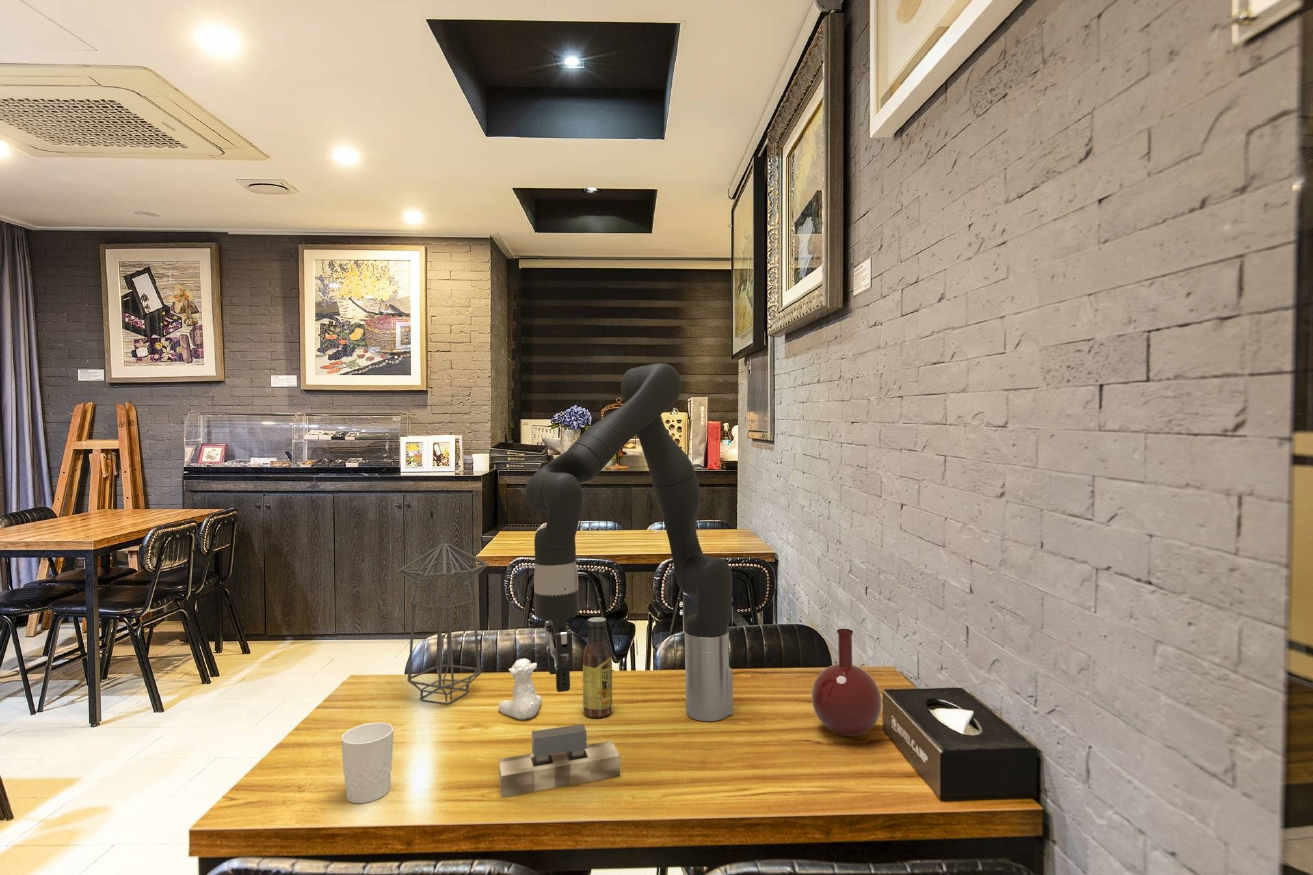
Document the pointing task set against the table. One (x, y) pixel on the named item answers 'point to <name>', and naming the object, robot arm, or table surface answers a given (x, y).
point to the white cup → (367, 761)
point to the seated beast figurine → (522, 692)
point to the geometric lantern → (405, 572)
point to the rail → (558, 770)
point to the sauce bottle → (597, 671)
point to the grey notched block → (559, 742)
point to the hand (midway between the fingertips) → (559, 681)
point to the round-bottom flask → (846, 694)
